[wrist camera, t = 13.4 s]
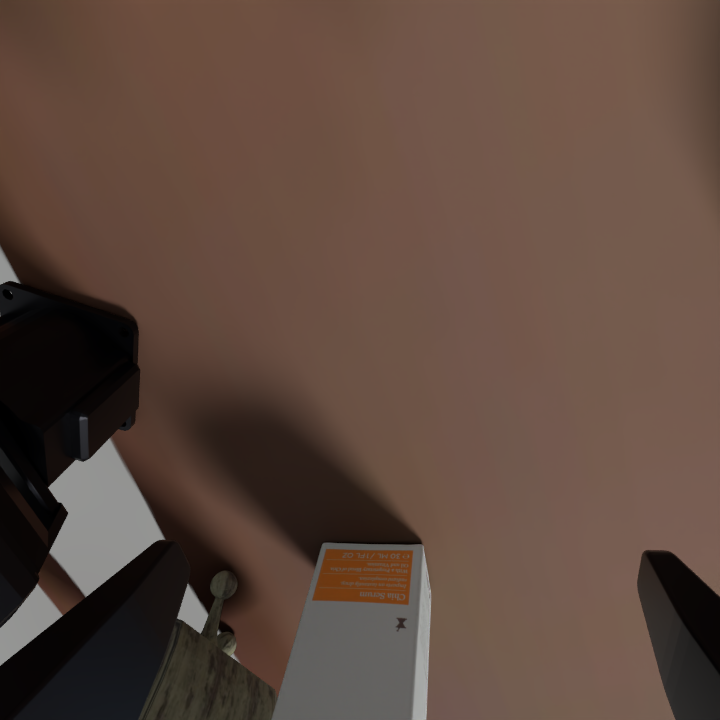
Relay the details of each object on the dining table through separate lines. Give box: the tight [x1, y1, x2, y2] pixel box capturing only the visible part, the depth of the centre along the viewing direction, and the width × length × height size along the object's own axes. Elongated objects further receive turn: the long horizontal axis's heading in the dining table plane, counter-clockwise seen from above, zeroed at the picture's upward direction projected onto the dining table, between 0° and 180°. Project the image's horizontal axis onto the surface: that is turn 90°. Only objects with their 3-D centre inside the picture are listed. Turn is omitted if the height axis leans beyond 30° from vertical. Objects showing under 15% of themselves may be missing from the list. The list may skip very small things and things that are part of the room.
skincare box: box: [272, 543, 431, 720], centre depth 23 cm, size 6×4×12 cm
